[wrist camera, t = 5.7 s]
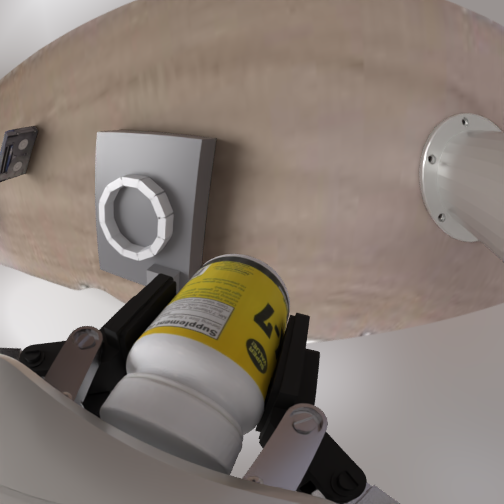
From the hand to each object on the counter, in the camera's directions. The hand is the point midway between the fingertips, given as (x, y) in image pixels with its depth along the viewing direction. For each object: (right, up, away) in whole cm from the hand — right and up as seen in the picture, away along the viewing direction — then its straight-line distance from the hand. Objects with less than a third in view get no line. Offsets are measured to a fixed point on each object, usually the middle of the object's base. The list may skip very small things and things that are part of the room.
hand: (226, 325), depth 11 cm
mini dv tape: (-33, +19, +19) cm, 43 cm away
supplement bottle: (+1, +1, +2) cm, 2 cm away
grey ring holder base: (-9, +8, +18) cm, 21 cm away
